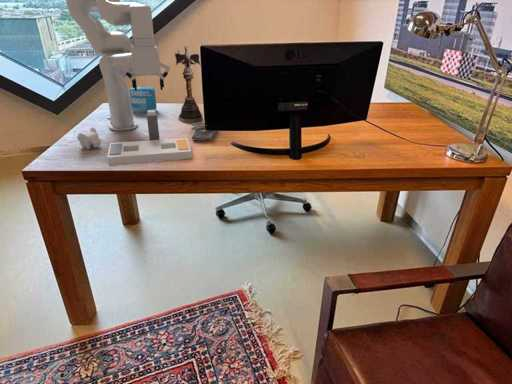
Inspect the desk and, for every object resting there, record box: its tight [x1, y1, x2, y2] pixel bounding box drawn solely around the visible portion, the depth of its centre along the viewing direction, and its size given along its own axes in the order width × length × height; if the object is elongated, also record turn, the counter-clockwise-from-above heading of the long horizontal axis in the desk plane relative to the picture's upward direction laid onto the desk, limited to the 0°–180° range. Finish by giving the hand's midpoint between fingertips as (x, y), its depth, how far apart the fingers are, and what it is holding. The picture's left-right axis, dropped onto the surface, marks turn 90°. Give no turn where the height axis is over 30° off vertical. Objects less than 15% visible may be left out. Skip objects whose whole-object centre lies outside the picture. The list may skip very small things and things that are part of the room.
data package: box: [129, 86, 157, 113], centre depth 183 cm, size 12×4×12 cm, turn 95°
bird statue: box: [174, 45, 203, 124], centre depth 172 cm, size 17×13×35 cm
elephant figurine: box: [76, 127, 104, 150], centre depth 142 cm, size 8×10×7 cm
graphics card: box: [191, 122, 218, 141], centre depth 159 cm, size 17×4×12 cm
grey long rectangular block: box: [146, 110, 161, 140], centre depth 147 cm, size 4×4×14 cm
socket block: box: [107, 137, 192, 166], centre depth 139 cm, size 30×14×3 cm, turn 106°
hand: (148, 89), depth 139 cm, fingers open, 9 cm apart
